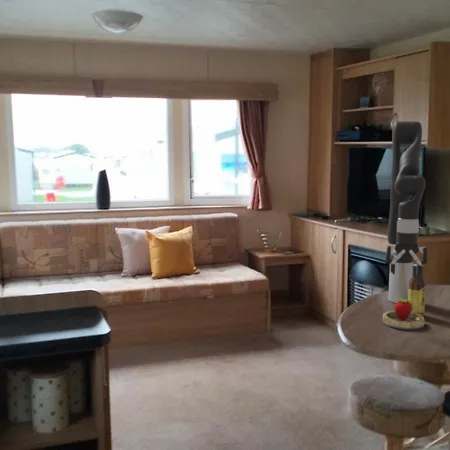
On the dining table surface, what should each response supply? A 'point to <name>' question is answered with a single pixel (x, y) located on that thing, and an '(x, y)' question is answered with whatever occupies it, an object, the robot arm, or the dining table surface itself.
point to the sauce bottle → (417, 291)
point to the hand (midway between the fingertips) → (405, 274)
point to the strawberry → (403, 308)
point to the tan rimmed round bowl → (410, 323)
